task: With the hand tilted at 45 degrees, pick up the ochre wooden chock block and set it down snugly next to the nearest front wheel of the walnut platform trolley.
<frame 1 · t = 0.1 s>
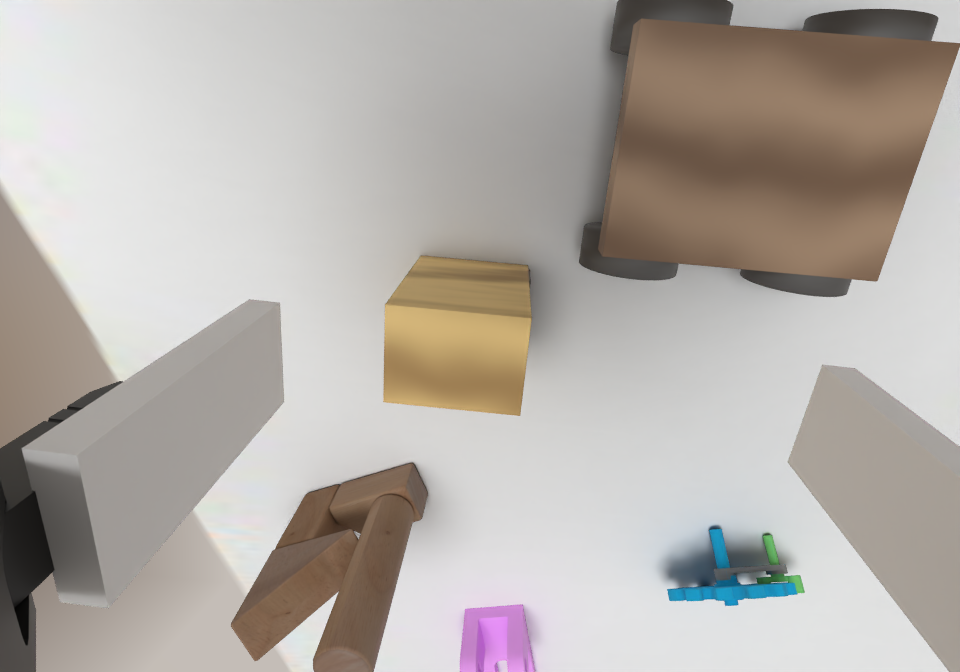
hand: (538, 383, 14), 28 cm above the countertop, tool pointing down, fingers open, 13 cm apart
bracket: (504, 652, 56), on the countertop
gear: (719, 555, 50), on the countertop
trolley: (719, 151, 37), on the countertop
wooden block: (367, 491, 50), on the countertop
chock block: (471, 298, 42), on the countertop
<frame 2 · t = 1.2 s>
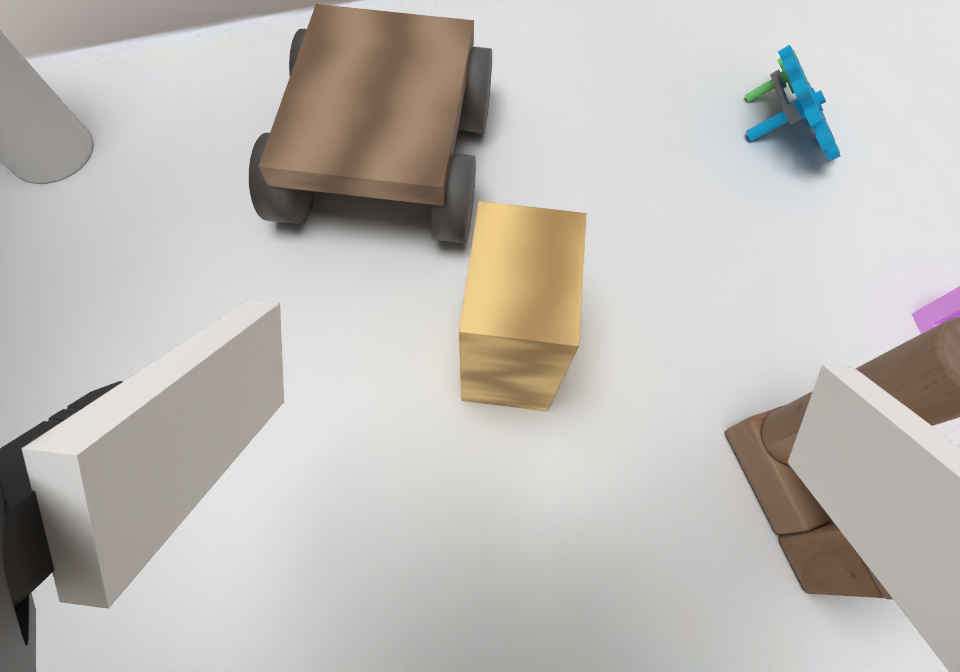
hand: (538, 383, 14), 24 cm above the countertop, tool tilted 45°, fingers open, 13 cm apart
gear: (781, 134, 49), on the countertop
bottle: (53, 153, 47), on the countertop
trolley: (388, 160, 47), on the countertop
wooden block: (783, 500, 37), on the countertop
chock block: (510, 352, 40), on the countertop
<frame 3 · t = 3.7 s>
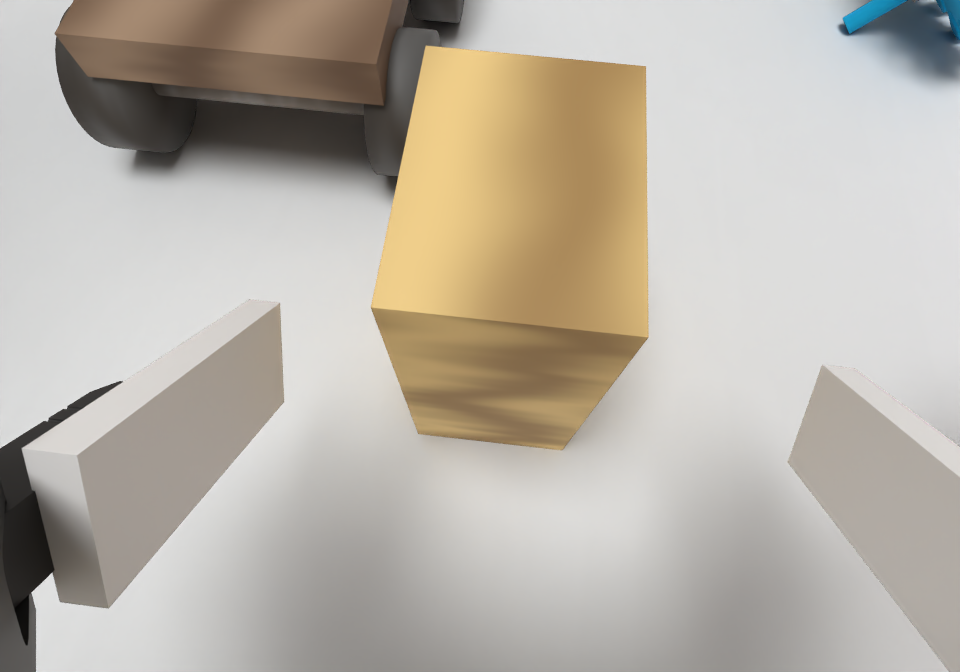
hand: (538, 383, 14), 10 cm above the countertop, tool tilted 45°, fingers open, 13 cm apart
gear: (892, 26, 34), on the countertop
trolley: (314, 65, 31), on the countertop
chock block: (499, 352, 24), on the countertop
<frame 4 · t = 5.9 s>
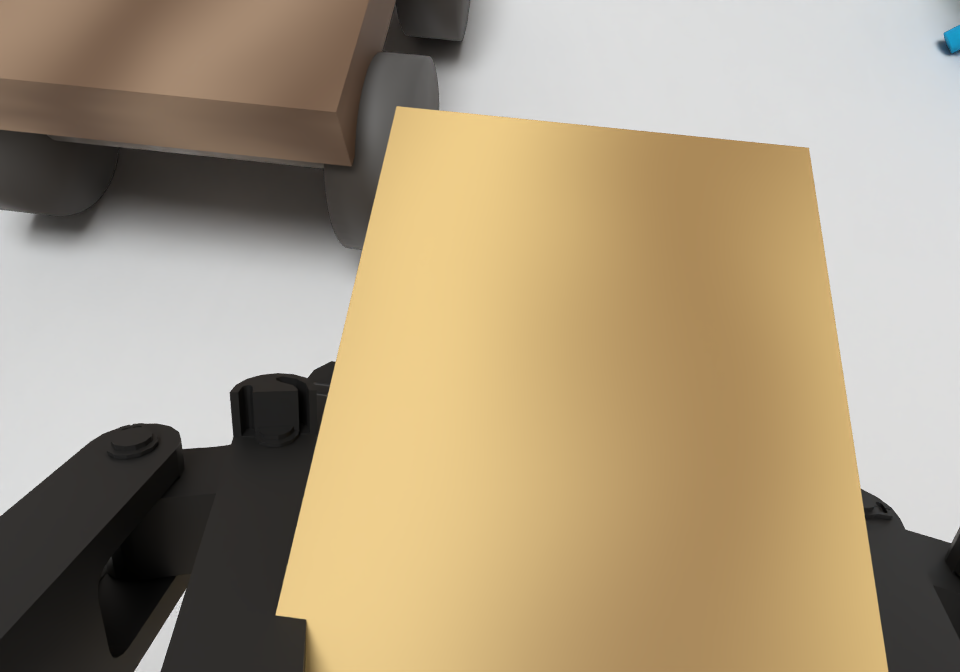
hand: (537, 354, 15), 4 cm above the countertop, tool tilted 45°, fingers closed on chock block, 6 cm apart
trolley: (275, 94, 24), on the countertop
chock block: (514, 505, 17), on the countertop, touching gripper
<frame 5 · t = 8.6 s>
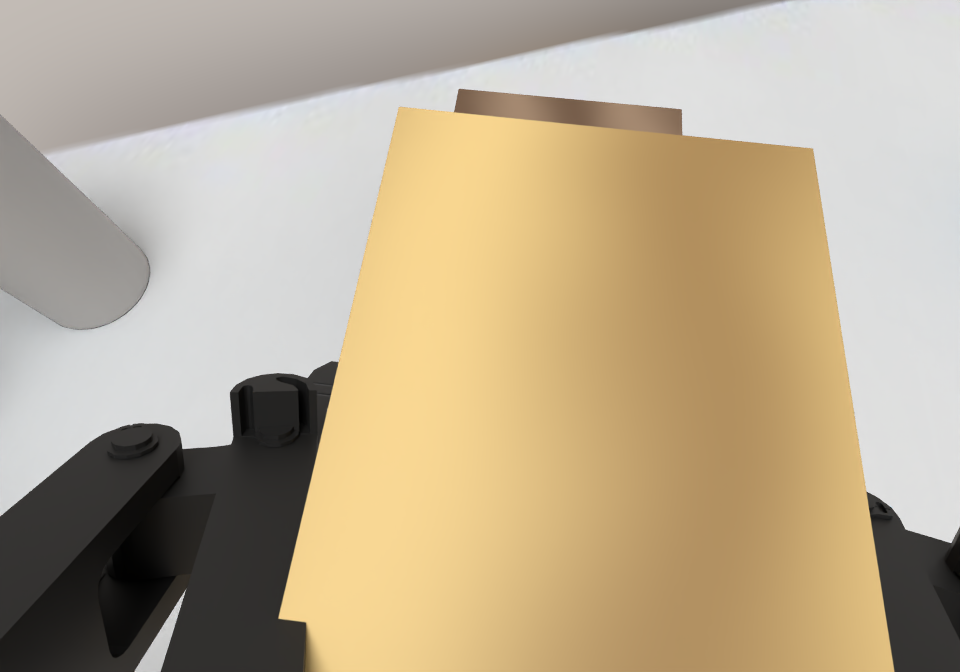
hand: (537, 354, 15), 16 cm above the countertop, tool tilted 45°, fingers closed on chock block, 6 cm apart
bottle: (98, 283, 35), on the countertop
trolley: (543, 290, 35), on the countertop
chock block: (516, 506, 17), point 12 cm above the countertop, touching gripper
when the fingers open (5 cm above the countertop, at t = 11.4 s): chock block drops 2 cm, on the countertop.
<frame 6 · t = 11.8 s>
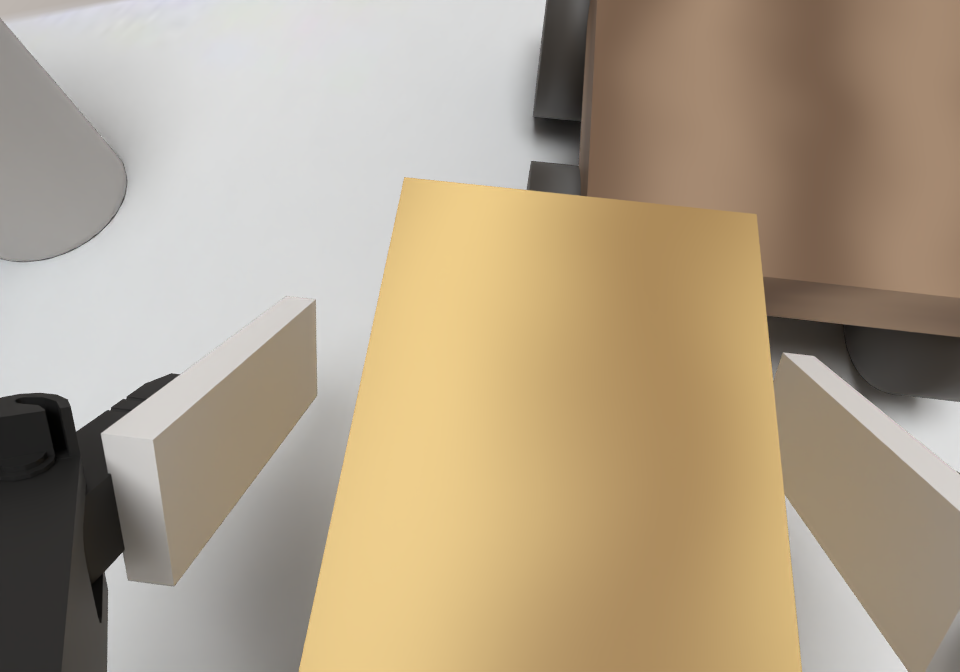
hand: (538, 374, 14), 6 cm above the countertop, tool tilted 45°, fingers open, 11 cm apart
bottle: (50, 198, 24), on the countertop
trolley: (702, 207, 24), on the countertop
chock block: (510, 512, 19), on the countertop
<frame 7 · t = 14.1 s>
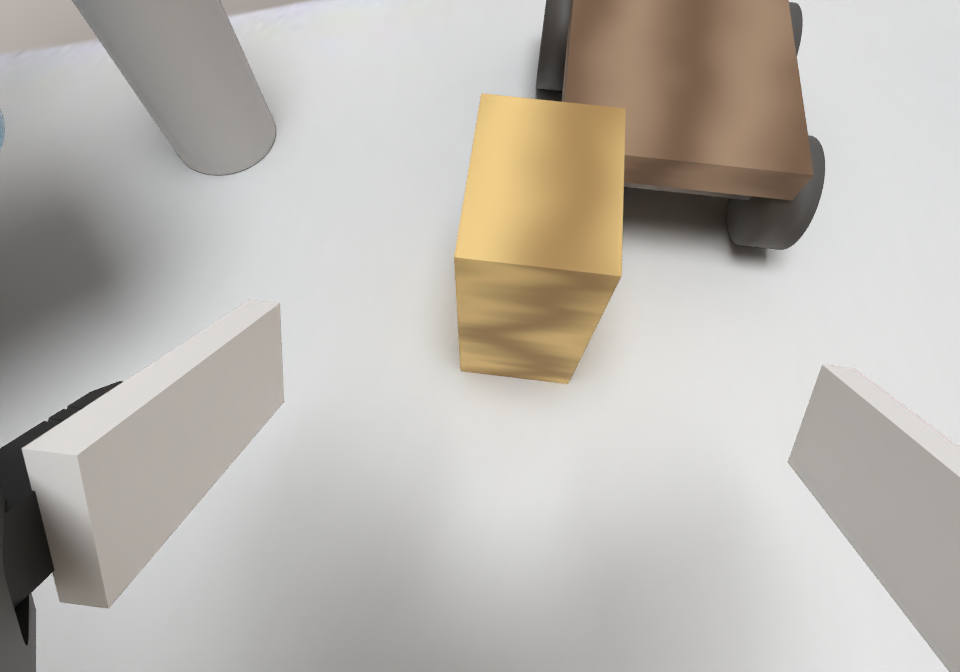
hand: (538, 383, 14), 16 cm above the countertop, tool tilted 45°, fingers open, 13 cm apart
bottle: (227, 138, 37), on the countertop
trolley: (643, 146, 37), on the countertop
chock block: (520, 313, 32), on the countertop
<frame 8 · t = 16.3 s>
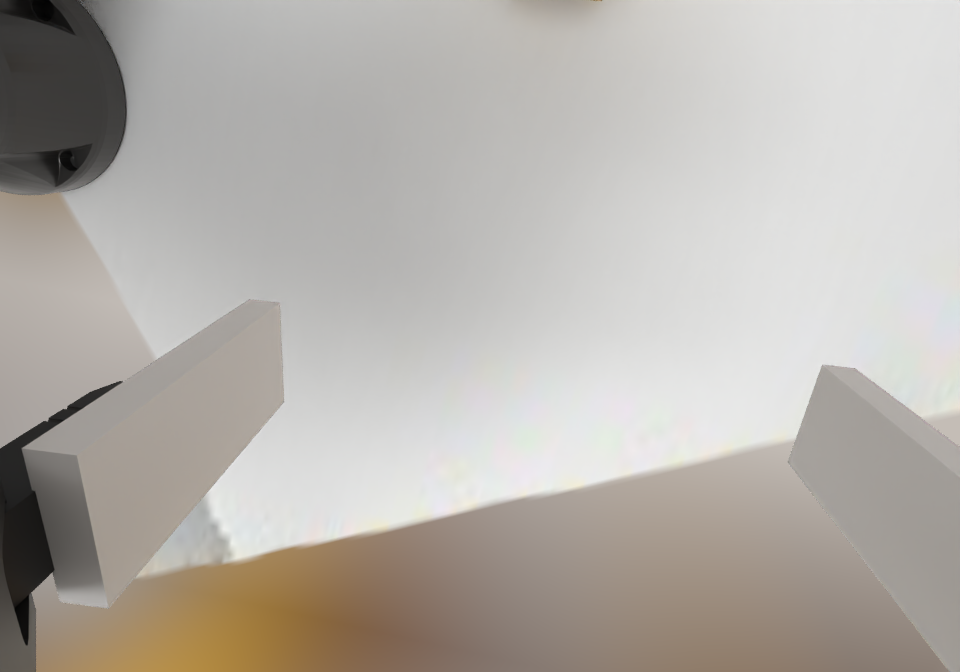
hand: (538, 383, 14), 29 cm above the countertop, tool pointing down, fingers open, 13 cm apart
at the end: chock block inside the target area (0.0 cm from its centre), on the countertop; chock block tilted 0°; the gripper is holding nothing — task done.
